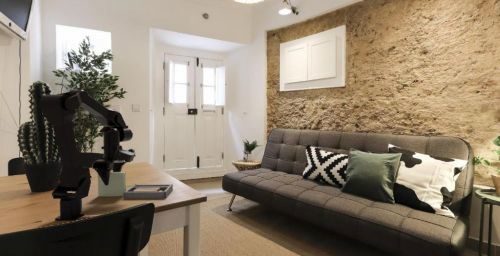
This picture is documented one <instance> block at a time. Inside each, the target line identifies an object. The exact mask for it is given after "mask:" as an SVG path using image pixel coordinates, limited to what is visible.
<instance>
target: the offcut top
mask: <svg viewBox="0 0 500 256" xmlns="http://www.w3.org/2000/svg"><path fill="white" fill-rule="evenodd" d="M156 191H160V188H137V189H135V190H134V191H133V192H156Z"/></svg>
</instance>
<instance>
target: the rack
mask: <svg viewBox="0 0 500 256" xmlns="http://www.w3.org/2000/svg"><path fill="white" fill-rule="evenodd" d="M137 188H160V190H162V191H156V192H133V191H134V190H135V189H137ZM173 189H174V185H173V183H169V184H168V183H167V184H165V183H163V184H160V183H158V184H153V183H152V184H149V183H148V184H134V185H132V186H131V187H129V188H128V189H126V191H125V192H124V196H123V199H125V200H126V199H128V200H129V199H130V200H131V199H133V200H134V199H166V198H167V197H168V196H170V194H171V192H172V191H173Z"/></svg>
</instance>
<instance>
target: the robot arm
mask: <svg viewBox="0 0 500 256" xmlns="http://www.w3.org/2000/svg"><path fill="white" fill-rule="evenodd" d="M38 102H39V103H38V104H39V107H40V110H41V113H42V115H43V117H44V118H45V119H46V120H47V121H48V122H49V123H50V124H51V126H52V131H53V134H54V138H55V142H56V146H57V150H58V154H59V158H60V162H61V170H60V172H59V175H58V181H59V182H58V183H57V185H56V187H55V188H54V189H53V191H52V192H51V196H52V198H53V199H54V200H59V215H58V216H57V217H54V220H55V221H72V220H73V221H75V220H78V219H80V218H81V217H83V215H85V214H84V213H83V199H84V198H87V197H89V193H90V189H91V186H92V185H91V184H92V175H91V170H90V167H89V166H83V165H82V164H81V159H80V155H79V154H80V153H79V150H78V146H77V141H76V136H75V132H74V128H73V127H74V126H73V124H72V123H73V119H74V118H75V116H76V108H78V107H80V108H82V109H83V110H85V111H86V112H88V113H90V114H91V115H93V116H95V118H96V120H97V122H98V123H99V124H100V125H101V126H102V128H101V129H100V130H99V133H102V135H103V137H102V138H103V140H102V141H103V143H102V144H103V145H102V146H100V150H103V156H101V159H97V160H95V161H93V162H92V163H91V164H92V165H91V168H92V170H94V171H96V174H97V175H98V174H99V176H100V178H101V179H102V181H103V183H104V184H105V186H108V185H109V178H110V172H122V170H123V166H125V164H127V163H131V162H134V159H135V158H136V156H137V155H136V152H135V151H136V150H135V149H133V148H129V149H128V150H127V149H123V145H122V144H121V145H120V143H123V142H124V143H125V142H128V141H131V140H132V139H133V137H134V133H133V132H132V131H133V130H131V129H130V128H129V125H127V124H126V121H125V120H124V117H123V114H122V113H121V112H119V111H118V110H115V109H111V108H108V107H106V106H105V105H103V104H101V103H100V102H99V101H97V100H96V98H93V97H92V96H91V95H89V94H88V92H87V91H86V90H84V89H80V90H79V89H78V90H77V89H76V90H75V89H72V90H69V91H66V92H62V93H57V94H44V95H43V96H42V97H41V99H40V100H39V101H38Z"/></svg>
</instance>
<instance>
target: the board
mask: <svg viewBox="0 0 500 256" xmlns="http://www.w3.org/2000/svg"><path fill="white" fill-rule="evenodd" d="M126 176H127V175H126V171H121V172H113V171H111V172H110V178H109V185H108V186H105V184H104V183H103V181H102V179H101V178H100V176H99V174H98V173H97V189H98V190H97V191H98V192H97V193H98V194H97V196H98V197H124V192H125V191H126V190H127V189H126V188H127V186H126V185H127V184H126V183H127V182H126V180H127V179H126Z"/></svg>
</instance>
